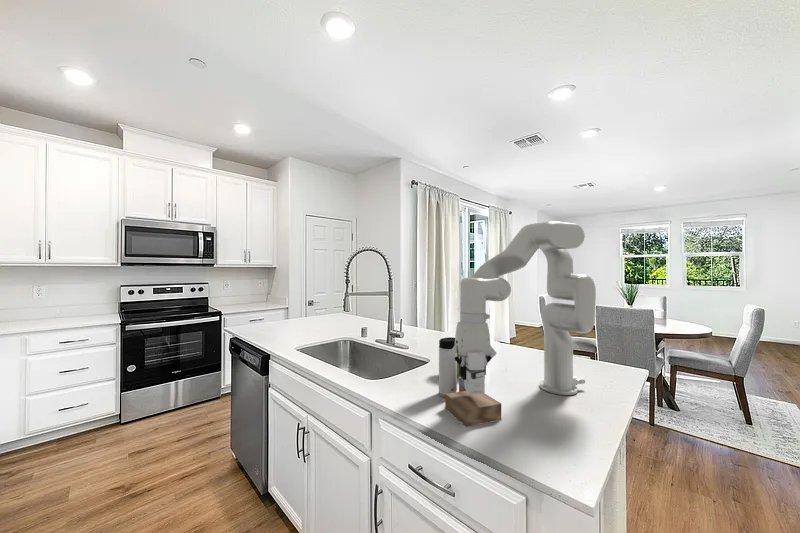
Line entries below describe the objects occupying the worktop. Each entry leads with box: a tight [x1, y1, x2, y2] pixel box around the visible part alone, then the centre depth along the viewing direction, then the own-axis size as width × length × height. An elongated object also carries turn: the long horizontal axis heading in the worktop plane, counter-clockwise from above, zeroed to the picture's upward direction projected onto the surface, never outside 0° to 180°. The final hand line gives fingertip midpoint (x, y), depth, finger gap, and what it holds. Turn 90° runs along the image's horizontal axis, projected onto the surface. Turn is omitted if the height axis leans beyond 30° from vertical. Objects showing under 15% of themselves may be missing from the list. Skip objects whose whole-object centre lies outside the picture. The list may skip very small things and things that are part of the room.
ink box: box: [461, 352, 486, 394], centre depth 96 cm, size 8×5×12 cm, turn 5°
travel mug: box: [438, 337, 458, 399], centre depth 110 cm, size 6×7×20 cm
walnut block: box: [444, 391, 502, 428], centre depth 96 cm, size 12×12×5 cm
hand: (472, 377), depth 96 cm, fingers closed on ink box, 5 cm apart
